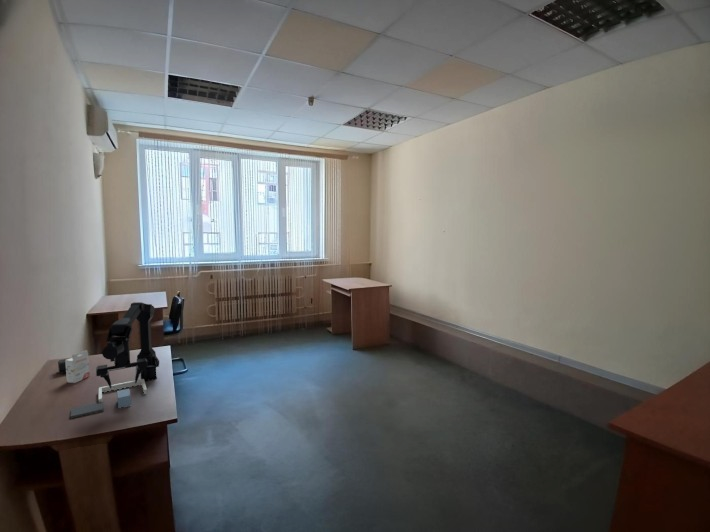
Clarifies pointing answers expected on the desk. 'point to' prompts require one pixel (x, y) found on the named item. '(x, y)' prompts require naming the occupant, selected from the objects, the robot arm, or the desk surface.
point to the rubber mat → (86, 409)
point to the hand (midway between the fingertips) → (123, 385)
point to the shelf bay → (122, 385)
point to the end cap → (62, 366)
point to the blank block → (123, 398)
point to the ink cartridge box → (77, 367)
